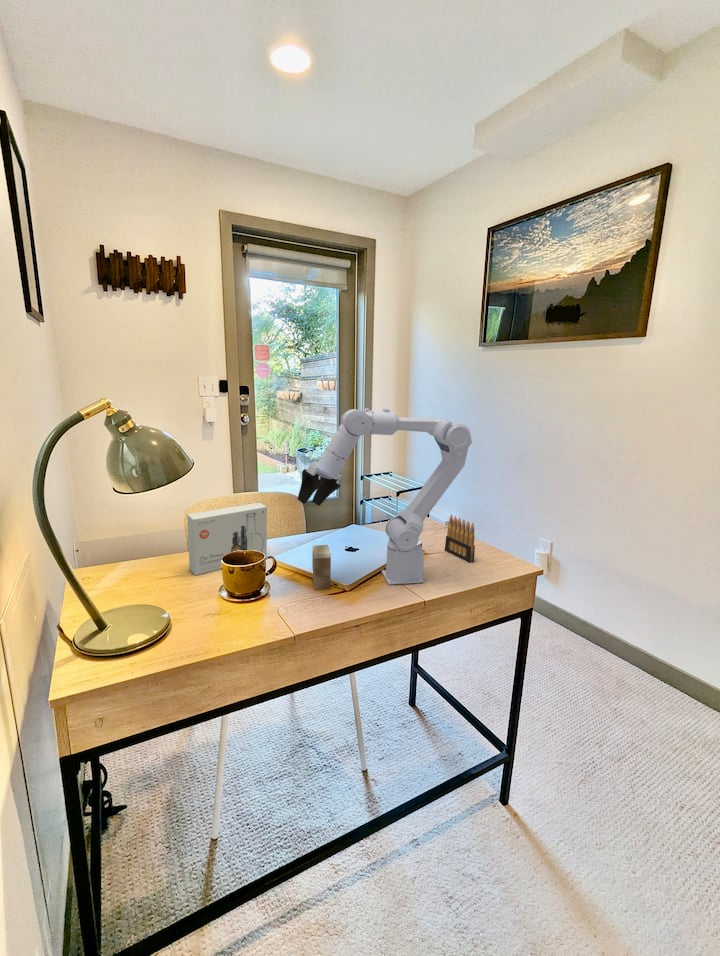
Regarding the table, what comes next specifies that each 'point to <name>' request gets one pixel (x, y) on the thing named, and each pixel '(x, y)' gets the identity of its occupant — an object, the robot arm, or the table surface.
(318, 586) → the walnut block
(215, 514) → the skincare box
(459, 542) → the ammunition clip
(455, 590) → the table surface
